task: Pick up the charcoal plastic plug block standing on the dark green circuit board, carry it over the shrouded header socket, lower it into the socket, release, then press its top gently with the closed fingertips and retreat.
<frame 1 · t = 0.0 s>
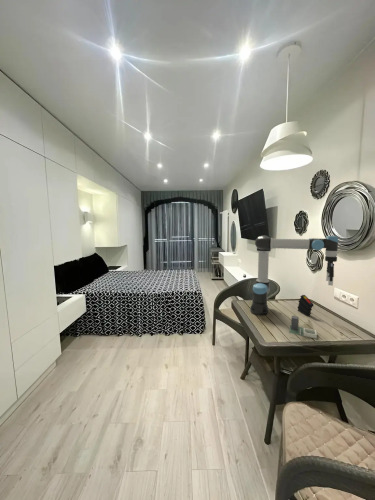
hand: (329, 283, 156), 28 cm above the table, fingers open, 13 cm apart
black ridged module: (305, 313, 166), on the table
board: (302, 333, 136), on the table
plug: (294, 328, 140), point 1 cm above the table, touching board
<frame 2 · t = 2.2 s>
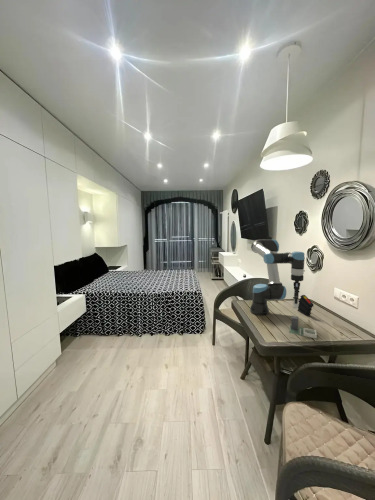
hand: (295, 304, 138), 19 cm above the table, fingers open, 13 cm apart
nothing on the table moved.
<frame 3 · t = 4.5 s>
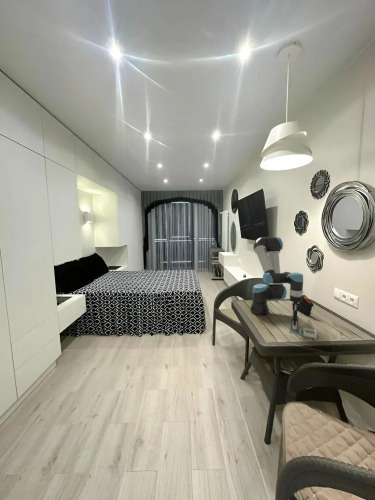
hand: (294, 327, 140), 2 cm above the table, fingers closed on plug, 4 cm apart
plug: (294, 328, 140), point 1 cm above the table, touching board, gripper
everything else where it was.
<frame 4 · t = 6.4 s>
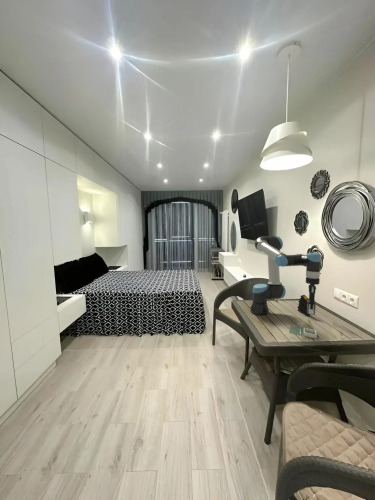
hand: (310, 312, 130), 17 cm above the table, fingers closed on plug, 4 cm apart
plug: (310, 313, 130), point 16 cm above the table, touching gripper
everything else where it was.
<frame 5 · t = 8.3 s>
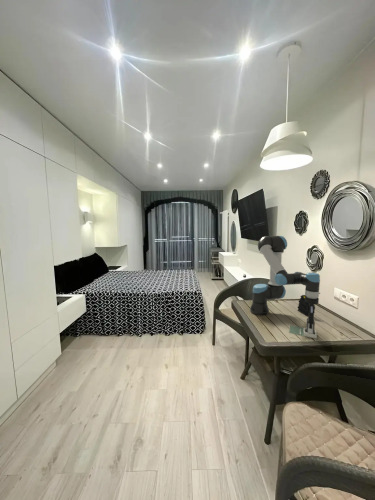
hand: (310, 330, 132), 4 cm above the table, fingers closed on plug, 4 cm apart
plug: (310, 331, 132), point 3 cm above the table, touching gripper
everything else where it was.
when the fingers open (4 cm above the table, at t = 9.5 s): plug stays where it is, resting on board.
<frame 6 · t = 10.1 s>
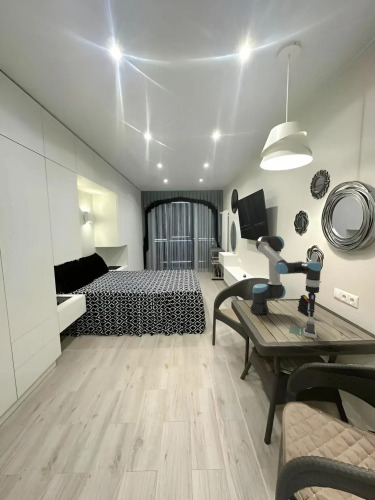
hand: (310, 316, 131), 13 cm above the table, fingers open, 13 cm apart
plug: (309, 334, 132), point 1 cm above the table, touching board
everything else where it was.
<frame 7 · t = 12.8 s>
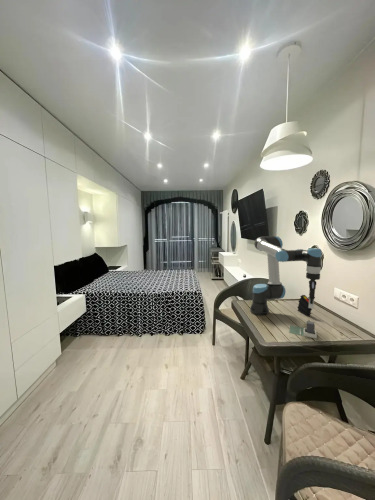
hand: (310, 307, 130), 19 cm above the table, fingers closed
nothing on the table moved.
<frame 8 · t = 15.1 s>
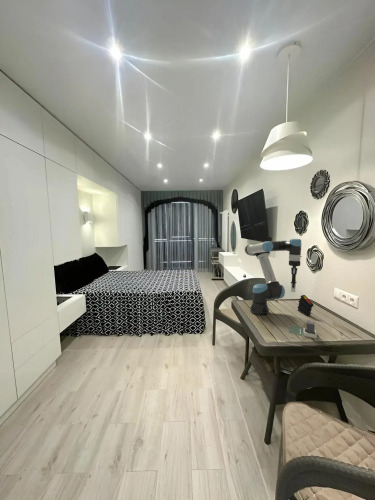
hand: (293, 291, 148), 24 cm above the table, fingers closed
nothing on the table moved.
at the end: plug 0.1 cm from the target spot on the board, point 1.2 cm above the board's base; plug tilted 0°; the gripper is holding nothing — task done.
